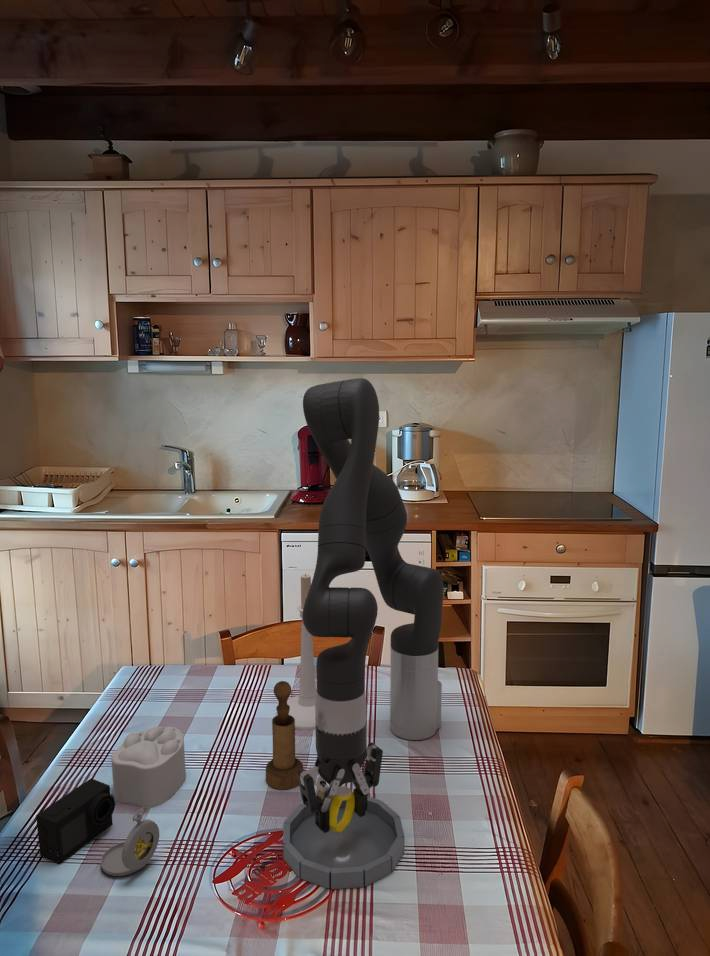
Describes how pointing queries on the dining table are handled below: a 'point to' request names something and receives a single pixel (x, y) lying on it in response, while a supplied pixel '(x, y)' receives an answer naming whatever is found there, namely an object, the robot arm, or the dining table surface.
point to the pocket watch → (132, 848)
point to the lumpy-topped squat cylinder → (149, 767)
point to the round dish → (344, 846)
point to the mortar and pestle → (283, 744)
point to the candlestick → (305, 673)
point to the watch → (340, 796)
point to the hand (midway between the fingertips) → (341, 821)
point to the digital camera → (74, 820)
